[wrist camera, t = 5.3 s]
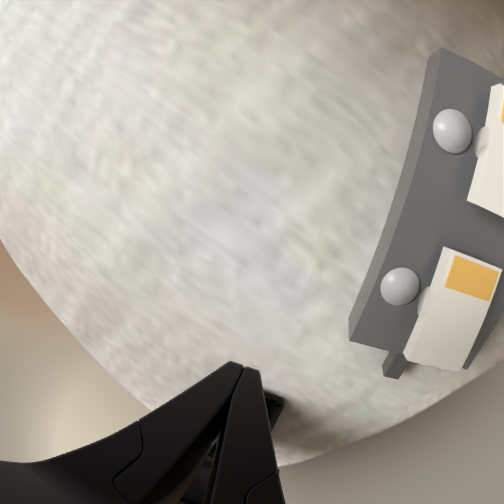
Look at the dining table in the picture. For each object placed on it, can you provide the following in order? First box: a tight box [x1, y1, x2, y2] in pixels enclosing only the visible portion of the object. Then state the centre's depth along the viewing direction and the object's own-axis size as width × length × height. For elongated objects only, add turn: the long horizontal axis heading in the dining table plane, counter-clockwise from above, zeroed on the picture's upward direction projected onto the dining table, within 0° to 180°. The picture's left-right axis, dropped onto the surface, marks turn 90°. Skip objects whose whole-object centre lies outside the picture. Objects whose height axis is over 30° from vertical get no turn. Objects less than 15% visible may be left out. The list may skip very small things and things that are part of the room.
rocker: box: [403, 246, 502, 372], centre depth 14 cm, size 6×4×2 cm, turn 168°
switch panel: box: [349, 47, 504, 379], centre depth 15 cm, size 20×9×3 cm, turn 167°
